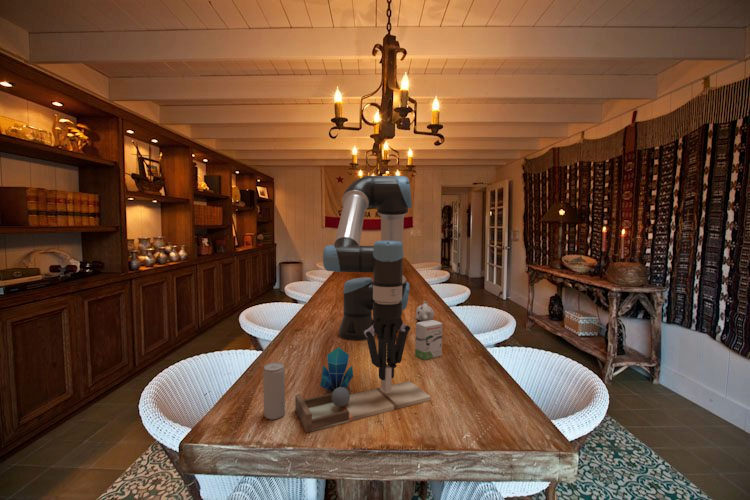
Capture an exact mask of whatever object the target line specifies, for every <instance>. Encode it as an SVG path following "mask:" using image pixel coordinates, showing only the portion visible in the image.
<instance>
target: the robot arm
mask: <svg viewBox="0 0 750 500" xmlns="http://www.w3.org/2000/svg"><path fill="white" fill-rule="evenodd" d="M411 191H412V190H411V183H410V179H409V177H407V176H405V175H404V176H403V175H365V176H362V177H360V178H357V179H356V180H354V181H353V182H352V183H350V184H349V185H348V186H347V188H346V189H345V190H344V192H343V194H342V198H341V205H342V209H341V215H340V219H339V223H338V226H337V231H336V233H335V238H334V242H333V244H330V245H326V246H324V248H323V252H322V263H323V264H322V265H323V268H324V270H325V271H327V272H336V273H373V275H372V277H373V278H372V277H366V276H364V277H357V278H352V279H349V280H346V281H345V282H344V284H343V292H342V294H343V317H342V318H341V319H342V320H341V323H340V326H339V327H338V328H339V330H338V335H339V336H340V338H342V339H346V340H350V341H351V340H352V341H363V340H366V342H367V347H368V352H369V355H370V356H369V357H370V361H371V364H372V365H373V366H375V367H376V368H378V379H380V380H381V381H380V382H381V386H380V388H381V389H382V390H383V391H384V392H385V393H390V392H391V385H392V379H393V378H394V377H395V368H397V367H398V364H401V362H402V359H403V355H404V350H405V346H406V345H405V344H406V341H407V336H408V334H409V332H410V331H411V326H409V325H408V324H406V323H404V322H403V319H402V317H403V311H405V310H406V308H407V306H408V302H409V298H410V297H409V295H410V282H408V281H407V278H406V276H405V275H403V270H404V255H405V254H404V226H405V225H404V223H405V222H404V221H405V216H406V215H407V214H408V213H409V209H411V208H412V207H413V205H412V204H413V202H412V193H411ZM369 208H376V214H378V215H379V216H380V240H376V241H375V242H374V243H373V245H361V239H362V237H361V236H362V232H363V226H364V218H365V211H367V209H369ZM376 335H377V340H378V341H377V343H376V340H375V337H376Z"/></svg>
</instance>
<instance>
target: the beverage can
mask: <svg viewBox="0 0 750 500" xmlns="http://www.w3.org/2000/svg"><path fill="white" fill-rule="evenodd" d="M284 366H285V365H284V363H282V362H270V363H267V364H265V365H264V366H263V373H262V374H263V377H262V379H263V382H262V383H263V387H262V388H263V416H264V417H265V419H268V420H270V421H271V420H272V421H273V420H277V419H280V418H282V417H283V416H284V415H285V413H286V412H285V411H286V408H285V407H286V402H285V401H286V400H285V395H286V392H285V391H286V390H285V389H286V388H285V387H286V386H285V384H286V383H285V381H286V380H285V378H286V377H285V367H284Z"/></svg>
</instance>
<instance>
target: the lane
mask: <svg viewBox="0 0 750 500" xmlns="http://www.w3.org/2000/svg"><path fill="white" fill-rule="evenodd" d="M294 395H295V399H294V400H295V401H294V406H295V413H296V415H297V416H298V418H299V421H300V423H301V425H302V427H303V429H304V430H305V433H306V434H307V433H312V432H315V431H319V430H323V429H326V428H330V427H335V426H338V425H341V424H346V423H349V422H350V423H351V422H353V421H357V420H361V419H365V418H369V417H372V416H376V415H378V414H379V415H380V414H383V413H387V412H392V411H395V410H399V409H402V408H406V407H410V406H413V405H417V404H421V403H422V404H423V403H425V402H429V401H431V398H432V397H431V396H430V395H429V394H428V393H426V392H425V391H424V390H422V389H421V387H419V386H417V385H416V384H414V382H412V381H410V380H409V381H403V382H400V383H395V384H391V392H390V393H385V392H384V391H383V390H382V389H381V387H378V388H377V387H376V388H373V389H368V390H365V391H359V392H355V393H354V392H353V393H350V399H349V402H348V403H347V404H346V405H345V406H343V407H338V406H336V405H334V403H333V402H332V393H331V394H326V395H324V394H323V395H318V396H313V397H309V398H305V399H304V398H303V396H302V395H301V393H299V394H294Z"/></svg>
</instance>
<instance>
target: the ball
mask: <svg viewBox="0 0 750 500" xmlns="http://www.w3.org/2000/svg"><path fill="white" fill-rule="evenodd" d="M350 394H351V393H350ZM350 394H349V391H348V390H347V389H346V388H344V387H338V388H336V389H335V390H334V391H333V393H332V402H333V403H334V405H336V406H338V407H343V406H345V405H346V404H347V403H348V402H349V399H350Z"/></svg>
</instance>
